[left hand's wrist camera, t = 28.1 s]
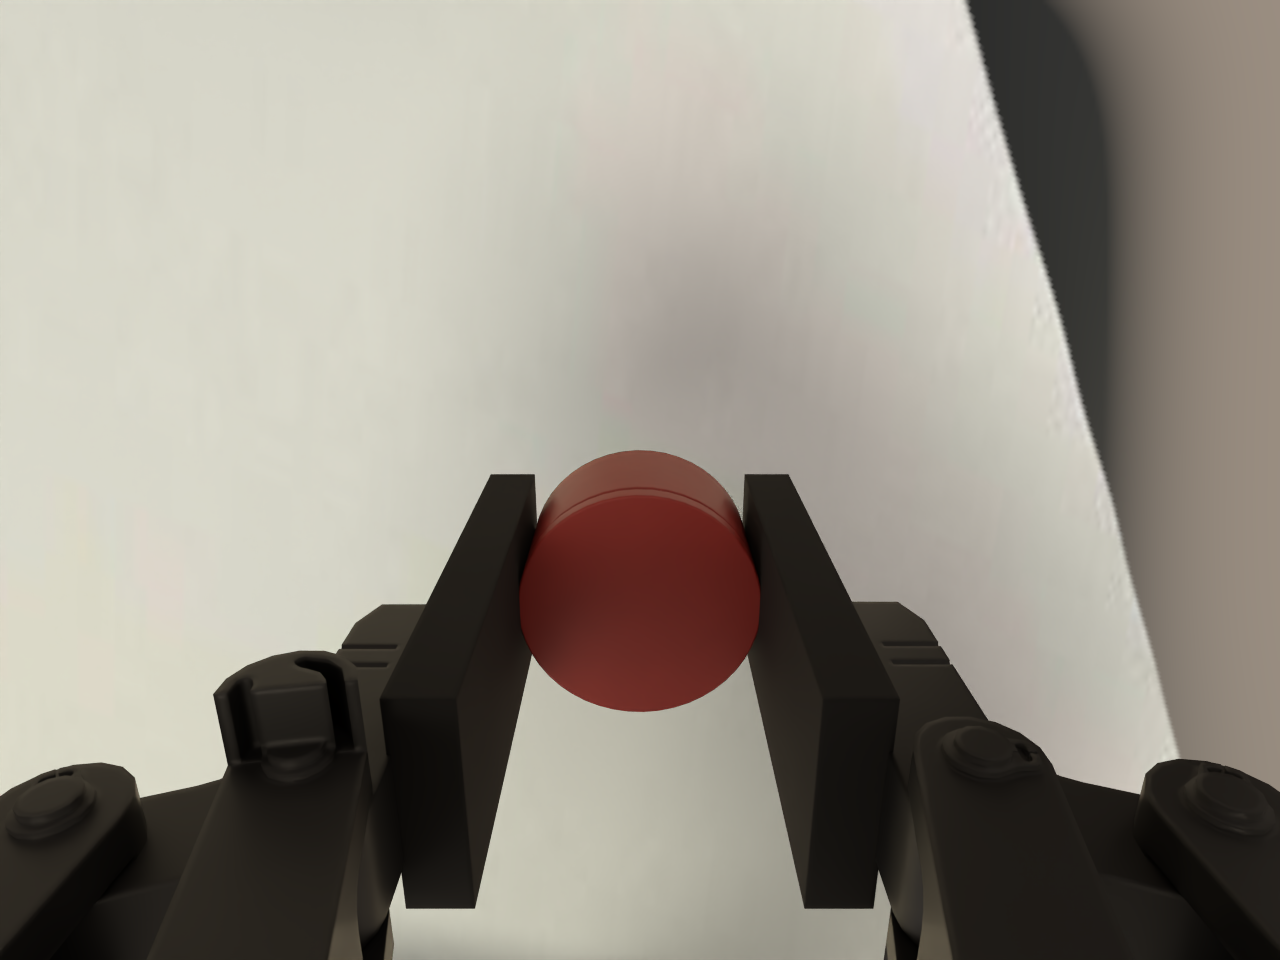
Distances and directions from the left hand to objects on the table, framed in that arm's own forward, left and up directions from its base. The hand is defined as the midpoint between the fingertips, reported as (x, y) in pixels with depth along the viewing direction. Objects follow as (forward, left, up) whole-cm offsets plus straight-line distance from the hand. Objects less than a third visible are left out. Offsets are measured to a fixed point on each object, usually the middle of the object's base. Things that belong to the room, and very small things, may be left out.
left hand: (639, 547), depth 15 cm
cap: (0, 0, +2) cm, 2 cm away
